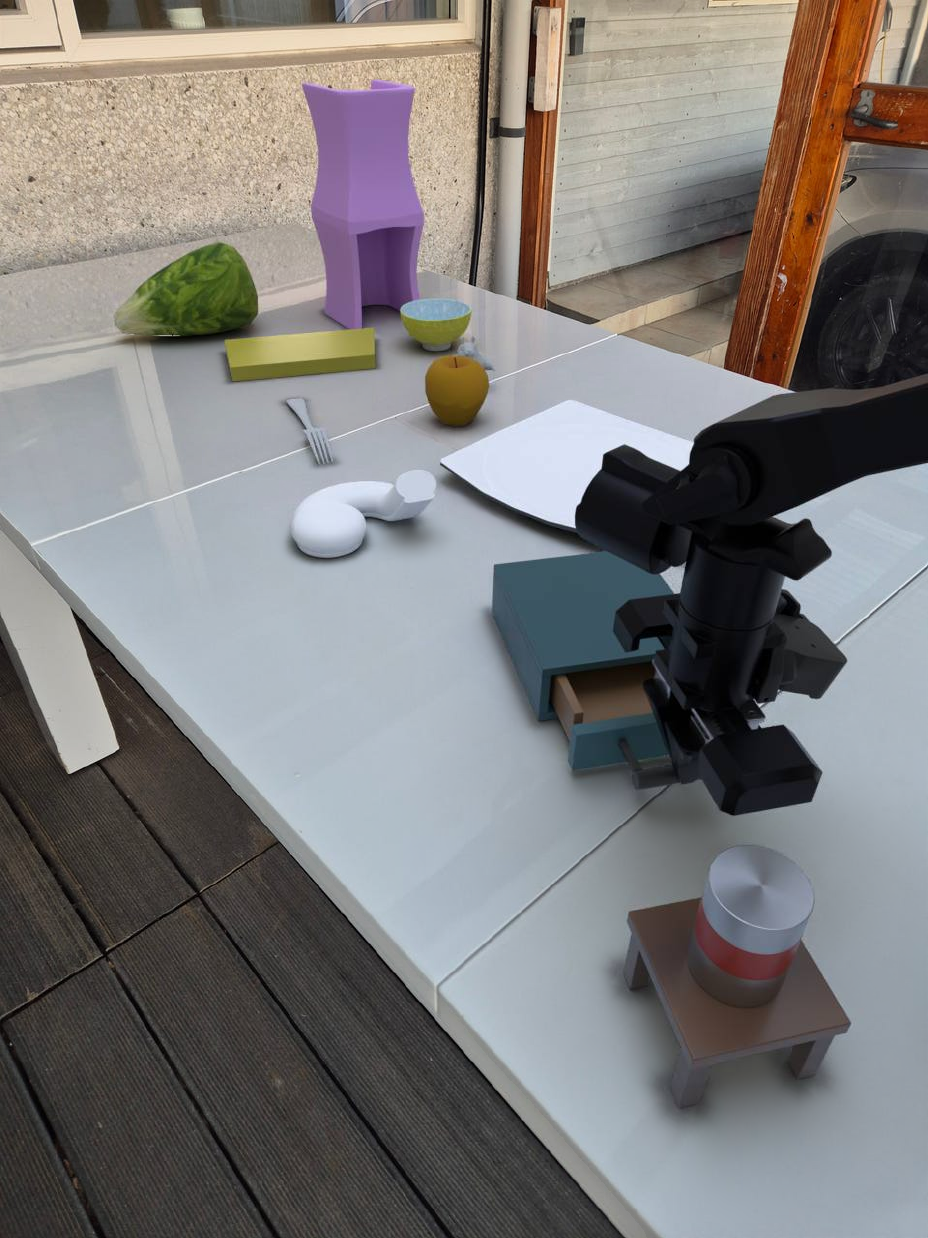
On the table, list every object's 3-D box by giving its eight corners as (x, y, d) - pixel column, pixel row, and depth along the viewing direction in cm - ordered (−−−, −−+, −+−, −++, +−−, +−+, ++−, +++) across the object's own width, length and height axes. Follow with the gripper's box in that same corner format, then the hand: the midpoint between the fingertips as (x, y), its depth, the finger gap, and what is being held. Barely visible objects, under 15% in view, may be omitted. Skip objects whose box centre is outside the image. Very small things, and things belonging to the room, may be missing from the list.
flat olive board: (232, 381, 132) (390, 366, 137) (230, 367, 131) (390, 352, 136) (226, 353, 141) (374, 340, 147) (224, 339, 140) (374, 327, 145)
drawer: (762, 788, 67) (773, 752, 64) (592, 818, 64) (598, 781, 62) (660, 635, 82) (666, 602, 79) (520, 655, 79) (522, 620, 77)
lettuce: (129, 354, 152) (94, 276, 145) (259, 310, 157) (230, 232, 150) (134, 372, 141) (96, 287, 134) (273, 324, 145) (244, 240, 138)
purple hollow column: (387, 298, 165) (378, 78, 144) (425, 319, 156) (421, 87, 135) (319, 310, 159) (300, 82, 138) (354, 332, 150) (339, 92, 129)
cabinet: (701, 696, 76) (712, 645, 73) (538, 721, 74) (542, 669, 70) (633, 594, 88) (640, 546, 85) (491, 612, 86) (493, 564, 82)
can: (801, 998, 48) (835, 919, 44) (711, 1018, 47) (737, 939, 43) (755, 915, 52) (782, 836, 48) (671, 932, 51) (691, 853, 47)
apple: (491, 410, 124) (493, 348, 119) (483, 436, 118) (485, 371, 112) (431, 406, 125) (430, 344, 120) (420, 431, 119) (418, 367, 113)
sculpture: (277, 516, 100) (268, 452, 95) (402, 492, 105) (399, 430, 100) (305, 571, 91) (297, 503, 86) (440, 542, 96) (440, 476, 91)
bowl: (387, 343, 146) (386, 305, 142) (444, 330, 151) (444, 293, 147) (426, 364, 138) (426, 324, 135) (485, 349, 144) (486, 311, 140)
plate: (617, 570, 92) (620, 548, 90) (422, 480, 107) (421, 460, 106) (752, 477, 109) (756, 458, 107) (566, 411, 124) (568, 393, 123)
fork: (305, 415, 128) (303, 396, 127) (337, 462, 111) (335, 440, 110) (286, 417, 127) (283, 398, 126) (315, 465, 110) (312, 444, 109)
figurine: (442, 397, 128) (442, 343, 123) (437, 381, 133) (437, 329, 128) (497, 394, 129) (498, 341, 124) (490, 379, 134) (492, 327, 129)
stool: (823, 1080, 50) (852, 1023, 47) (675, 1116, 48) (693, 1060, 45) (748, 942, 57) (768, 883, 54) (616, 969, 56) (628, 911, 52)
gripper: (940, 682, 48) (860, 865, 58) (771, 514, 63) (728, 681, 72) (754, 712, 46) (702, 896, 56) (623, 530, 61) (599, 700, 70)
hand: (685, 780), depth 64 cm, fingers closed
